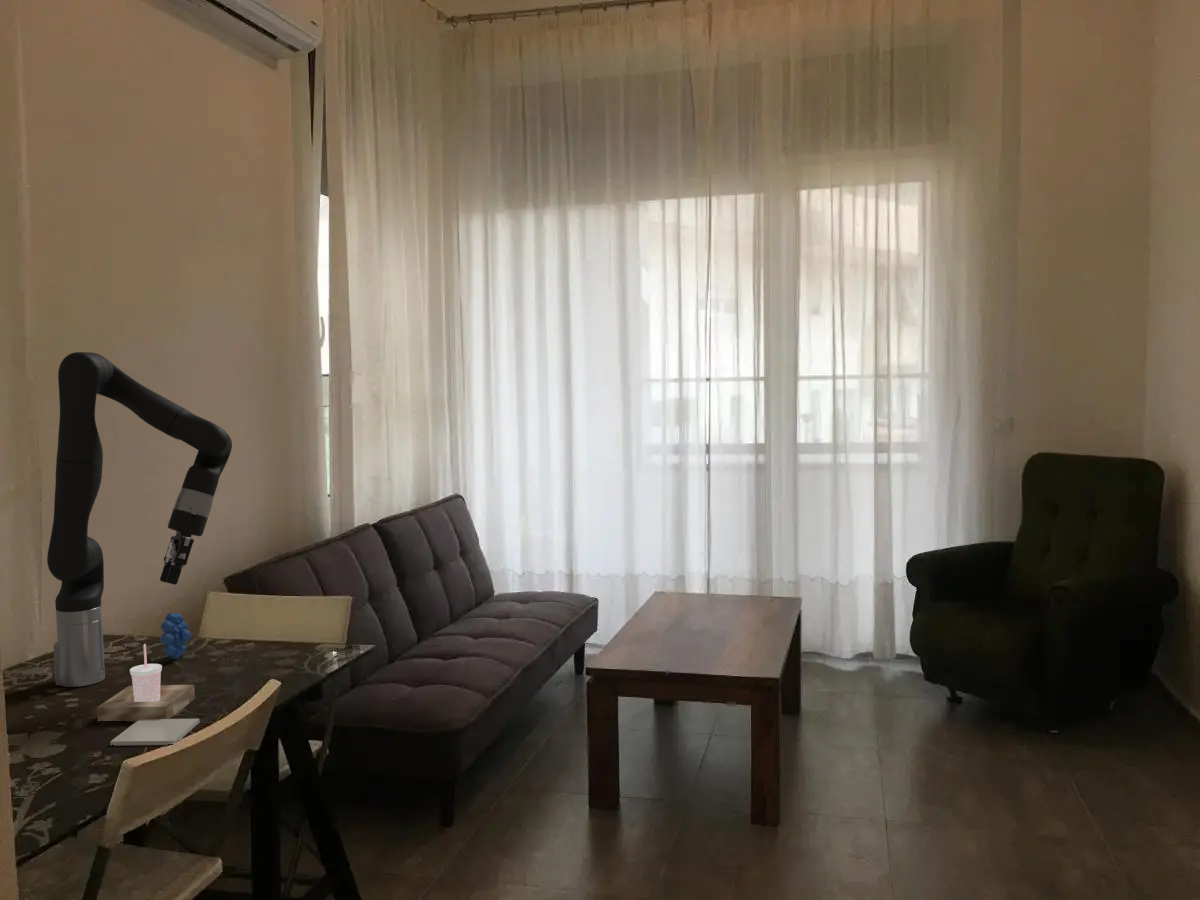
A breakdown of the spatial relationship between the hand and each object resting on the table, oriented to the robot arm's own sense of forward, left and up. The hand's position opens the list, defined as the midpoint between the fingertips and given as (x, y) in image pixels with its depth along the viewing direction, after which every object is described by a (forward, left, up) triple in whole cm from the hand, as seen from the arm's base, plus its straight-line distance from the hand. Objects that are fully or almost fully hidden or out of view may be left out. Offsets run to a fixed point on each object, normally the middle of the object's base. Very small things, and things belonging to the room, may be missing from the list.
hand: (167, 582), depth 218 cm
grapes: (-9, +24, -24) cm, 36 cm away
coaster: (+8, -27, -24) cm, 37 cm away
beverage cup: (0, -13, -24) cm, 27 cm away
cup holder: (0, -13, -24) cm, 27 cm away
